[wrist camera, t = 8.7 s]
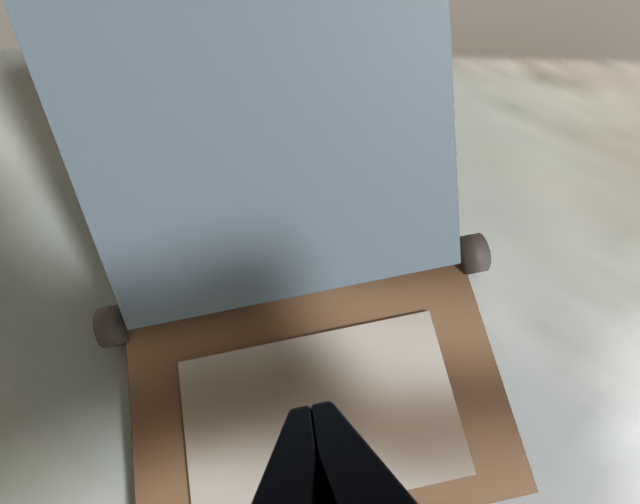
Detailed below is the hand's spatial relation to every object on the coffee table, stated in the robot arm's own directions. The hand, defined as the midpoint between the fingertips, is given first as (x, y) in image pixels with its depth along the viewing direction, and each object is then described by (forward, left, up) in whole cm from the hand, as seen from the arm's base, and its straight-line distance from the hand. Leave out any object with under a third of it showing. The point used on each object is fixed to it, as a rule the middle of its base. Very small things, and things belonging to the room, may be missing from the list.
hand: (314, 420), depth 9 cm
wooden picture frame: (0, +1, -10) cm, 10 cm away
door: (+3, +4, -9) cm, 10 cm away
